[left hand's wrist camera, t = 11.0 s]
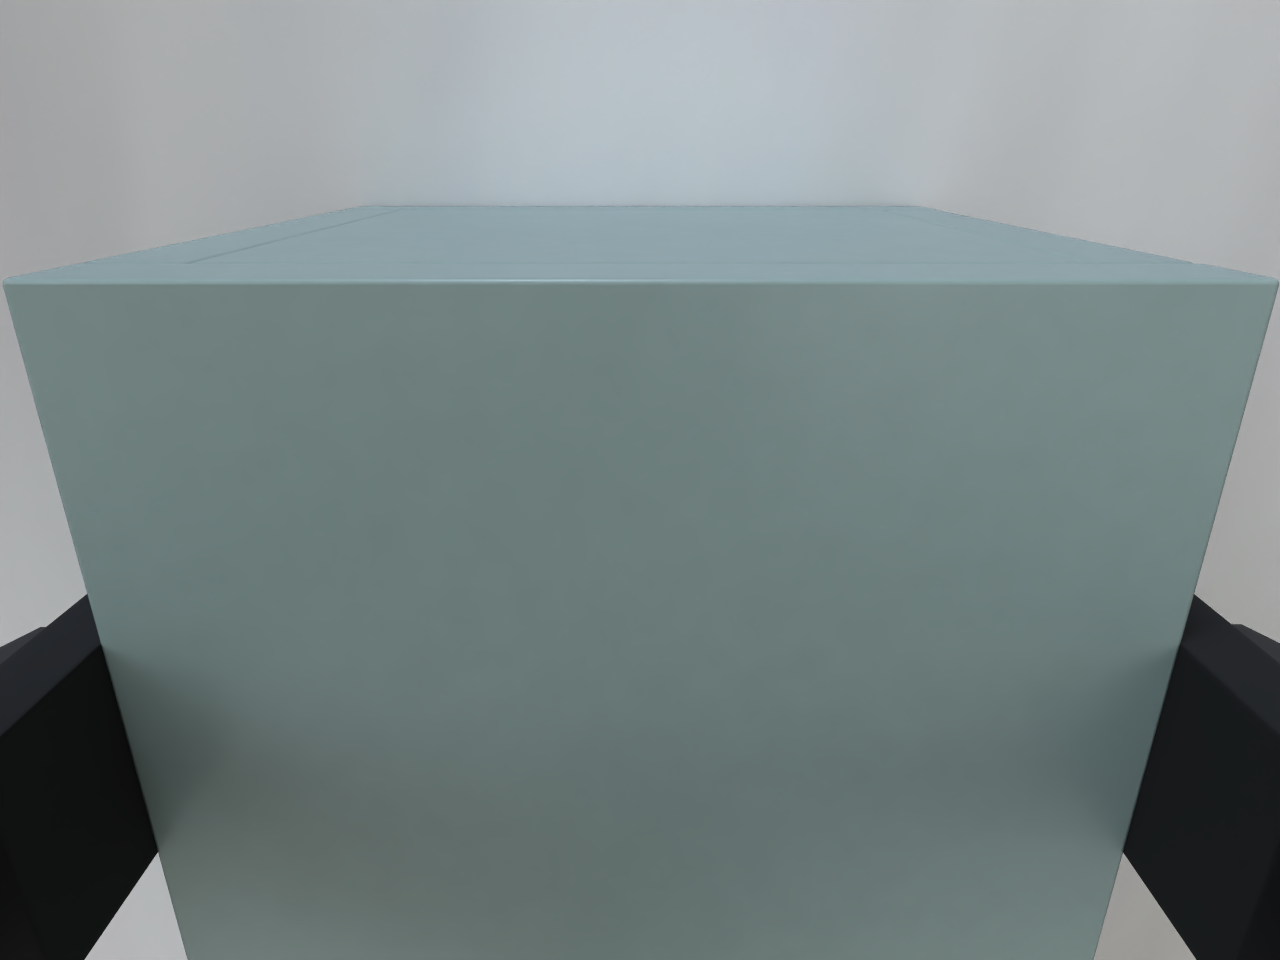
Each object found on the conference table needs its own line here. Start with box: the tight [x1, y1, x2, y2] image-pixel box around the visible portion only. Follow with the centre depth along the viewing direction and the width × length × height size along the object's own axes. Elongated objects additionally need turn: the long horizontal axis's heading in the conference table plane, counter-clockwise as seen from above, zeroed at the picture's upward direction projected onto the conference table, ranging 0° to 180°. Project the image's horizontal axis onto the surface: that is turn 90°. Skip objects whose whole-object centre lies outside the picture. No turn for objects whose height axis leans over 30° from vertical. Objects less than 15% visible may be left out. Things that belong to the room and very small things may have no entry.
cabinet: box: [3, 206, 1279, 960], centre depth 15 cm, size 21×11×10 cm, turn 0°
